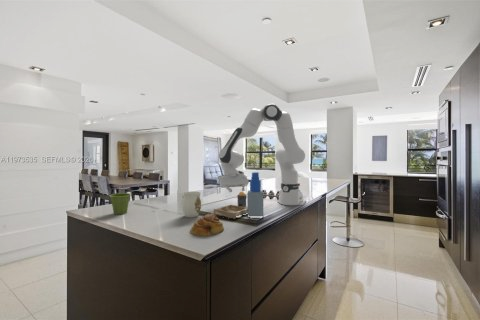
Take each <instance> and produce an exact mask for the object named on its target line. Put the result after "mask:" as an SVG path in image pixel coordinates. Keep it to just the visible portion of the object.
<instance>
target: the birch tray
mask: <svg viewBox="0 0 480 320" xmlns="http://www.w3.org/2000/svg"><path fill="white" fill-rule="evenodd" d="M213 213H214V214H220V215H224V216H230V217H236V216H239V215H243V214H246V213H248V208H247V206H246V207H241V206H238V205H235V204H229V205H225V206H221V207H217V208H214V209H213Z"/></svg>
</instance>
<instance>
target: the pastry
mask: <svg viewBox="0 0 480 320" xmlns="http://www.w3.org/2000/svg"><path fill="white" fill-rule="evenodd" d="M224 230H225V227H224V226H223V222H222V221H220V219H219V218H218V216H216V215H215V214H214V212H211V213H207V214H205V215H204V216H202V217H200V218H199V219H197V220H196V221H195V222H194V223H193V225H192V226H191V228H190V230H189V233H190V234H191V235H194V236H197V237H198V236H199V237H209V236H211V235H218V234H220V233H221V234H222V232H224ZM217 233H218V234H217Z"/></svg>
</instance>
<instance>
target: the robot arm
mask: <svg viewBox="0 0 480 320" xmlns="http://www.w3.org/2000/svg"><path fill="white" fill-rule="evenodd" d="M263 121H264V122H274V123H275V125H276V133H277V138H278V142H279V143H280V144H281V145H282V147H283V148H279V149H278V150H276V152H275V154H274V155H275V159H276V161H277V163H278V164H279V165H278V166H279V168H280V174H281V183H280V190H279V191H278V195H279V197H278V200H277V203H278V204H281V205H284V206H303V205H304V204H305V203H306V202H307V199H304V194H303V192H302V191H301V189H300V186H301V183H298V182H299V181H298V171H297V170H296V168H295V165H297V164H302V163H303V162H304V161H305V159H306V153H305V151H304V149H302V148H301V146H300V145H299V144H298V141H297V138H296V137H295V136H296V134H295V131H294V125H293V121H292V117H291V114H290V113H289V112H286V111H282V110H281V109H280V107H279V106H277V105H276V103H275V104H274V103H267V104H266V105H265V106H264V107H263V108H261V109H258V108H251V109H250V110H249V112H248V114H247V115H246V116H245V119H244V121H243V123H242V124H241V125H240V126H239V127H236V129H235V130H234V131H233V133H232V134H231V135H230V137H229V138H228V141H227V142H226V143H225V145H224V146H223V147H222V149H221V150H220V151H219V153H218V154H219V155H218V158H219V160H220V166H221V169H222V171H223V174H224V175H223V174H222V175H218V177H217V180H218V181H219V187H220V188H222V189H226V190H228V193H232V192H233V189H232V188H237V187H238V188H239V187H241V192H245V191H246V189H245V187H247V186H248V185H249V184H250V180H249V179H248V177H247V176H246V175H245V171H242V170H238V169H237V168H239V167H240V166H241V165H243V164H244V160H245V156H244V154H243V153H241V152H238V151H236V150H233V149H234V148H235V146H236V144H237V143H238V141H239V140H240V139H242V138H250V137H254V136H255V135H256V134H257V133H258V130H259V128H260V126H261V124H262V122H263Z"/></svg>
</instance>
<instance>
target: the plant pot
mask: <svg viewBox="0 0 480 320" xmlns="http://www.w3.org/2000/svg"><path fill="white" fill-rule="evenodd" d="M131 195H132V193H128V192H125V193H124V192H121V193H113V194H112V193H111V194H109V195H108V196H109V197H110V201H111V207H112V211H113V215H118V216H119V215H124V214H127V213H128V208H129V202H130V198H131Z"/></svg>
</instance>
